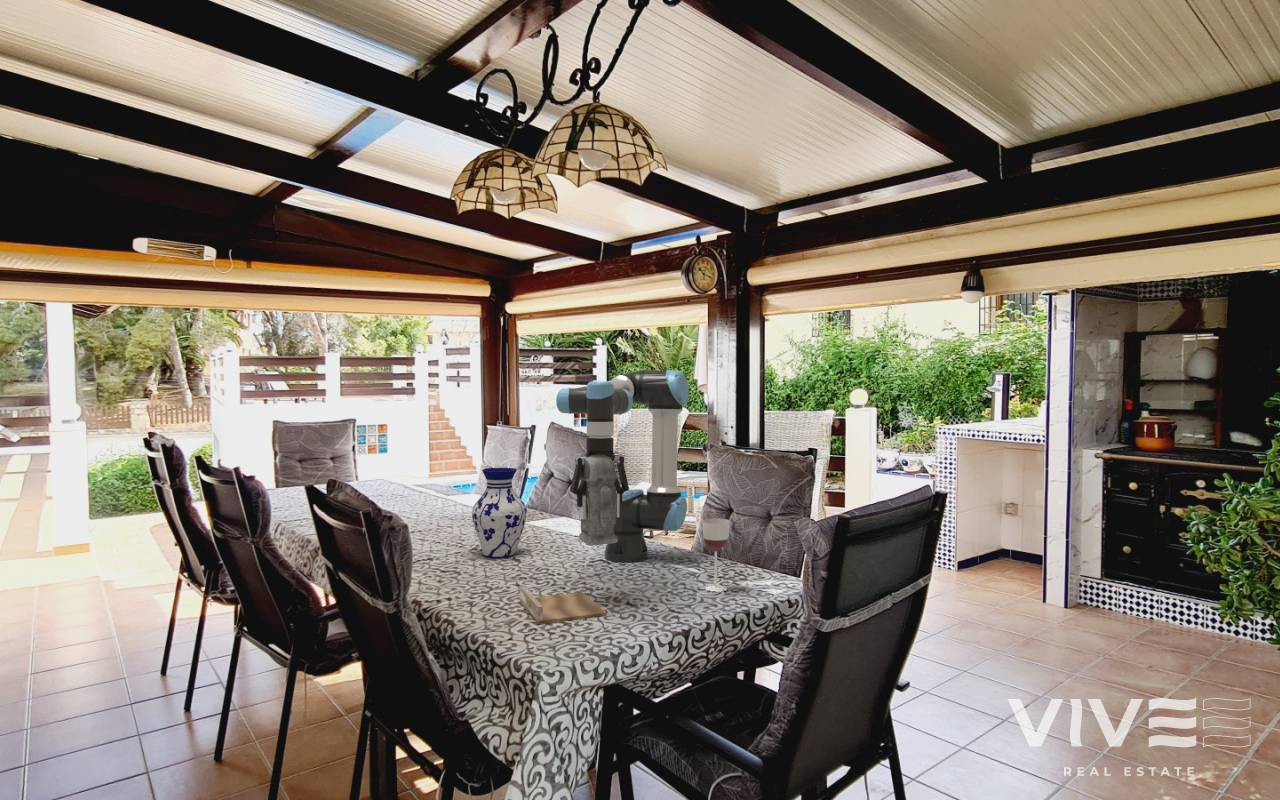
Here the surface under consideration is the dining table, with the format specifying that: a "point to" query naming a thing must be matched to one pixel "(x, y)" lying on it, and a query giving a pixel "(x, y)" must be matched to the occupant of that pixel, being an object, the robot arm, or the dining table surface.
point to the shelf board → (559, 607)
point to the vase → (499, 514)
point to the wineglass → (715, 541)
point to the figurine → (599, 500)
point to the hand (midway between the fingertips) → (599, 517)
